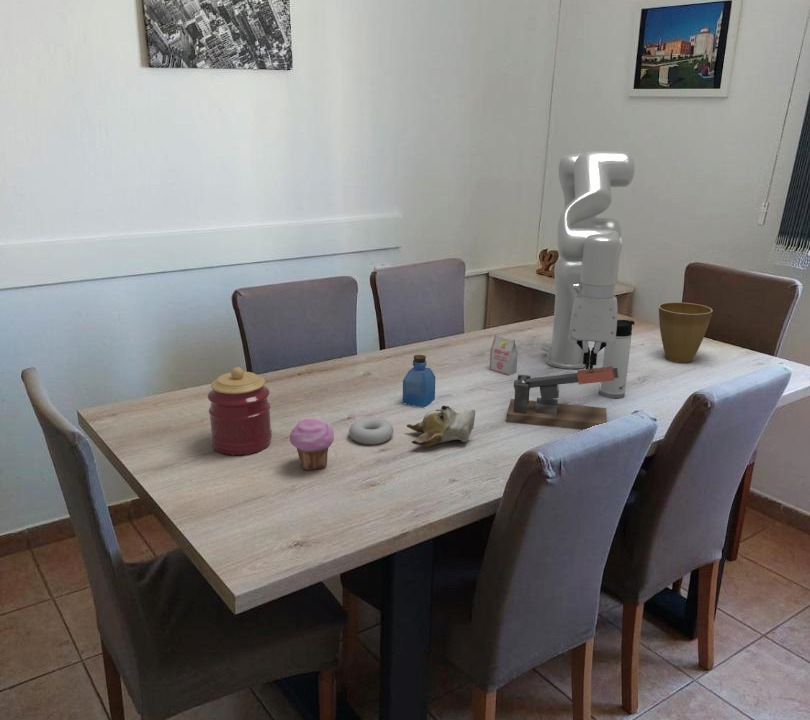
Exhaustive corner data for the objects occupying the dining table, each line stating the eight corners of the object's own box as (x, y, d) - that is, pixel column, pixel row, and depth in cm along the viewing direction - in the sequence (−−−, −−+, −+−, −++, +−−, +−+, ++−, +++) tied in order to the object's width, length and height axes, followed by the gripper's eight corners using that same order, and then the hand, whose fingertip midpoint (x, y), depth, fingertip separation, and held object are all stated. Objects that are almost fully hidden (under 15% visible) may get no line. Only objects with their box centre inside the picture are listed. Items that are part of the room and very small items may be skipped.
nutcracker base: (506, 421, 169) (508, 386, 167) (510, 406, 179) (512, 372, 176) (606, 432, 164) (610, 395, 161) (605, 415, 173) (609, 380, 171)
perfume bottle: (434, 399, 183) (436, 354, 179) (425, 407, 177) (426, 362, 173) (412, 395, 185) (413, 351, 181) (402, 403, 180) (403, 358, 176)
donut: (366, 451, 154) (402, 438, 160) (365, 437, 153) (402, 424, 159) (340, 436, 162) (376, 424, 167) (340, 422, 160) (375, 411, 166)
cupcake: (297, 478, 142) (295, 432, 138) (286, 460, 149) (284, 416, 146) (340, 470, 145) (339, 425, 142) (327, 453, 153) (326, 409, 149)
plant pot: (709, 356, 218) (716, 305, 213) (699, 370, 206) (707, 316, 201) (659, 348, 225) (665, 299, 220) (646, 361, 213) (653, 309, 208)
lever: (516, 403, 170) (512, 383, 169) (518, 396, 174) (514, 377, 173) (620, 391, 163) (617, 370, 162) (619, 384, 167) (616, 364, 166)
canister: (242, 462, 148) (237, 382, 143) (198, 447, 155) (191, 370, 149) (284, 439, 159) (280, 364, 153) (241, 426, 165) (236, 354, 160)
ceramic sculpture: (480, 412, 152) (410, 418, 151) (480, 449, 155) (412, 455, 154) (470, 394, 162) (404, 400, 161) (471, 429, 165) (406, 435, 164)
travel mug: (626, 399, 184) (635, 324, 177) (600, 397, 185) (608, 323, 178) (624, 391, 189) (633, 318, 183) (599, 389, 191) (606, 316, 184)
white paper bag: (497, 366, 207) (499, 333, 204) (516, 372, 203) (518, 338, 199) (489, 369, 205) (491, 336, 201) (508, 375, 200) (510, 341, 197)
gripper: (562, 292, 158) (555, 370, 164) (632, 296, 155) (623, 376, 161) (563, 284, 165) (557, 359, 171) (630, 289, 162) (621, 365, 168)
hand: (589, 367), depth 166 cm, fingers closed
